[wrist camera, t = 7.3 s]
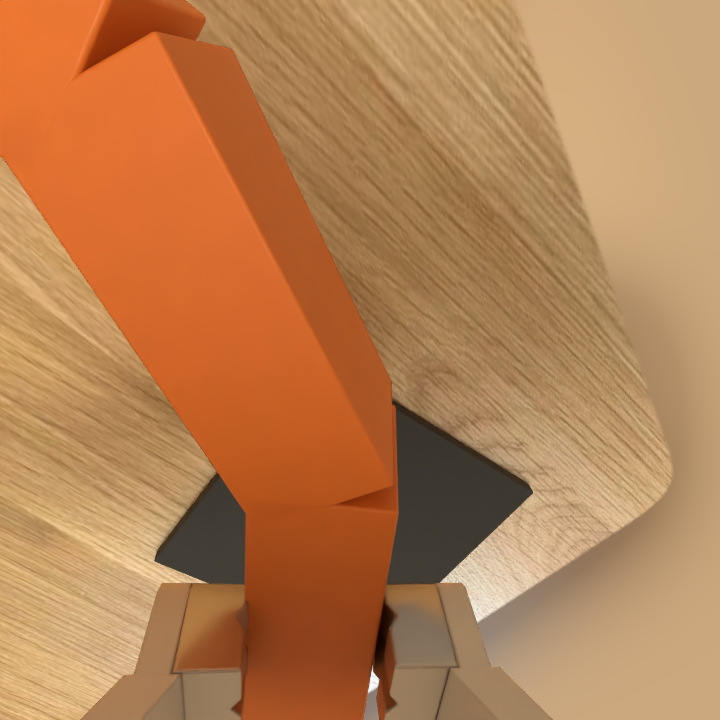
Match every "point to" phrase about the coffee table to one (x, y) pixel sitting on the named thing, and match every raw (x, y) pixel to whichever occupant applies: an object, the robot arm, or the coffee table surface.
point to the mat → (415, 519)
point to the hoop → (220, 315)
